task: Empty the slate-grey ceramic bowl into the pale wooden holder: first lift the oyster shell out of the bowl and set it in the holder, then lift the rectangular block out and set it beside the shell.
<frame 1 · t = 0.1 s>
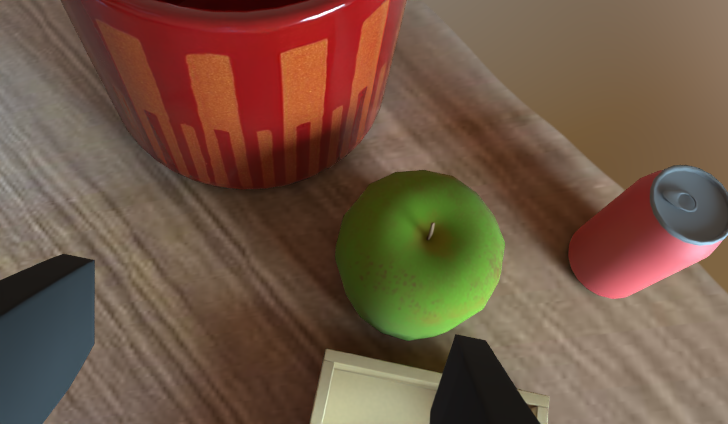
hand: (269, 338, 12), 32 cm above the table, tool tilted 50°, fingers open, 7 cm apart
beer can: (602, 262, 49), on the table
planter: (253, 78, 52), on the table
apple: (403, 278, 46), on the table
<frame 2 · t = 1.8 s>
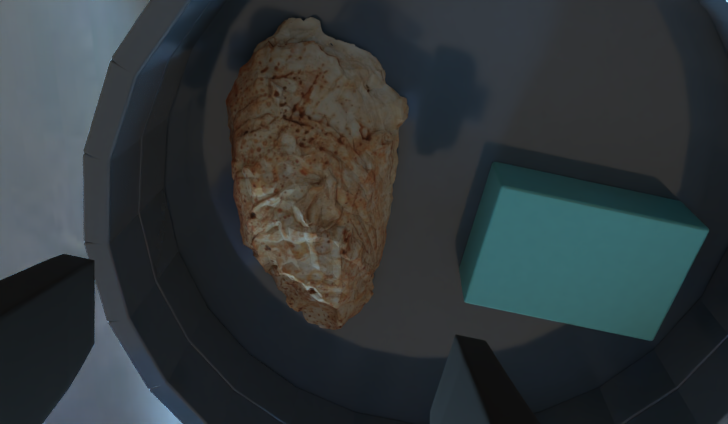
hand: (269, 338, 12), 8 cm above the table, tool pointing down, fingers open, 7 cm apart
bowl: (443, 204, 19), on the table
rectangular block: (565, 236, 19), resting on bowl
oyster shell: (322, 182, 19), resting on bowl
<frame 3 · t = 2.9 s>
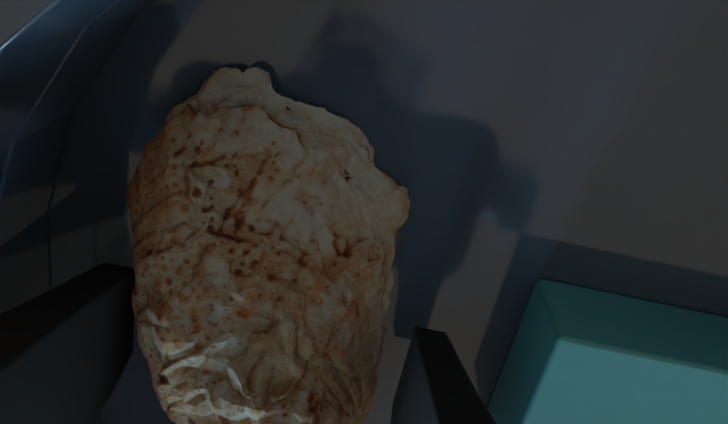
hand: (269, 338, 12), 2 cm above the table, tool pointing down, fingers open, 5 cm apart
bowl: (460, 329, 13), on the table
rectangular block: (640, 380, 13), resting on bowl
oyster shell: (282, 301, 13), resting on bowl
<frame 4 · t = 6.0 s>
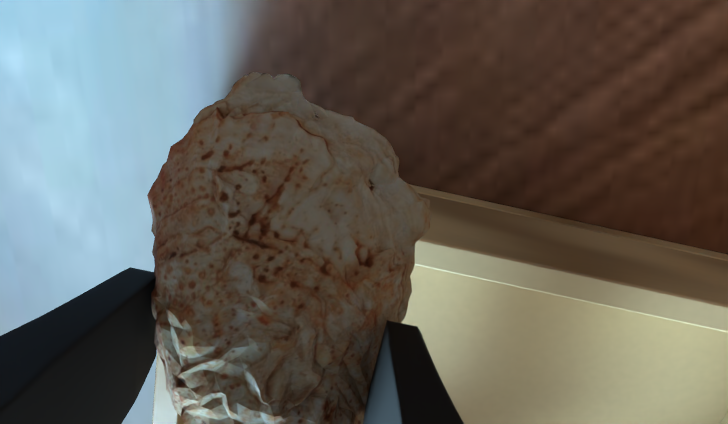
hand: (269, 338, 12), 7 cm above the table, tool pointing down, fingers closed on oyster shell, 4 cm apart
holder: (454, 397, 22), on the table
oyster shell: (296, 306, 13), point 6 cm above the table, touching gripper
when the fingers open (2 cm above the table, at t = 8.7 s): oyster shell stays where it is, resting on holder.
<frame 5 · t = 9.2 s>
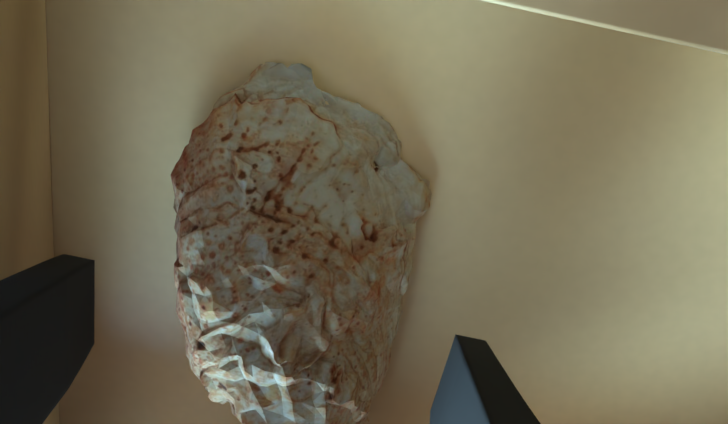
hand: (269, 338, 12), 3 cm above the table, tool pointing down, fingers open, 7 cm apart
holder: (437, 299, 14), on the table
oyster shell: (305, 281, 14), resting on holder
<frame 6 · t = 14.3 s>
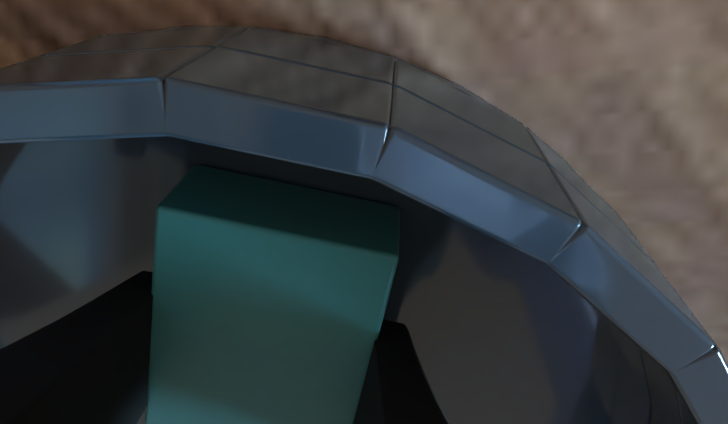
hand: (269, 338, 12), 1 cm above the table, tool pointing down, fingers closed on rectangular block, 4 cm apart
rectangular block: (277, 311, 13), point 1 cm above the table, touching bowl, gripper
when the fingers open (1 cm above the table, at t = 19.5 s): rectangular block stays where it is, resting on holder.
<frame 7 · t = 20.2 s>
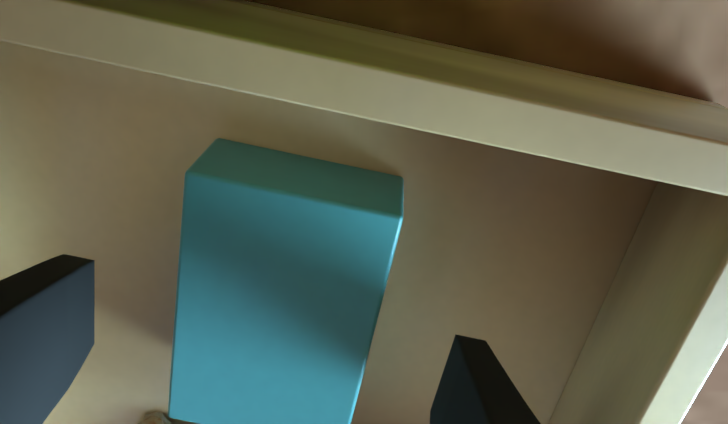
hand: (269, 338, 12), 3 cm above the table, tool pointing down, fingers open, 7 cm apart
holder: (272, 394, 16), on the table
rectangular block: (290, 276, 14), resting on holder
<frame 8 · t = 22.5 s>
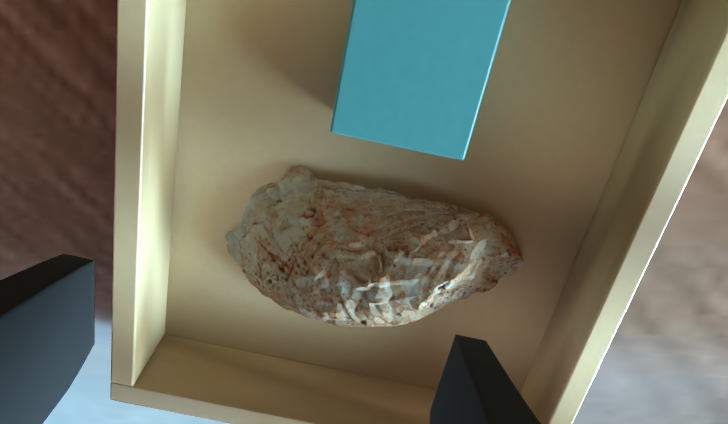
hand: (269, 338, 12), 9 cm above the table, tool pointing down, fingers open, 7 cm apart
holder: (391, 153, 20), on the table
rectangular block: (419, 32, 18), resting on holder
oyster shell: (372, 239, 21), resting on holder
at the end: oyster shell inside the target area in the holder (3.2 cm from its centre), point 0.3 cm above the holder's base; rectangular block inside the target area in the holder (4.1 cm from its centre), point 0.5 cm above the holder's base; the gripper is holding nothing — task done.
